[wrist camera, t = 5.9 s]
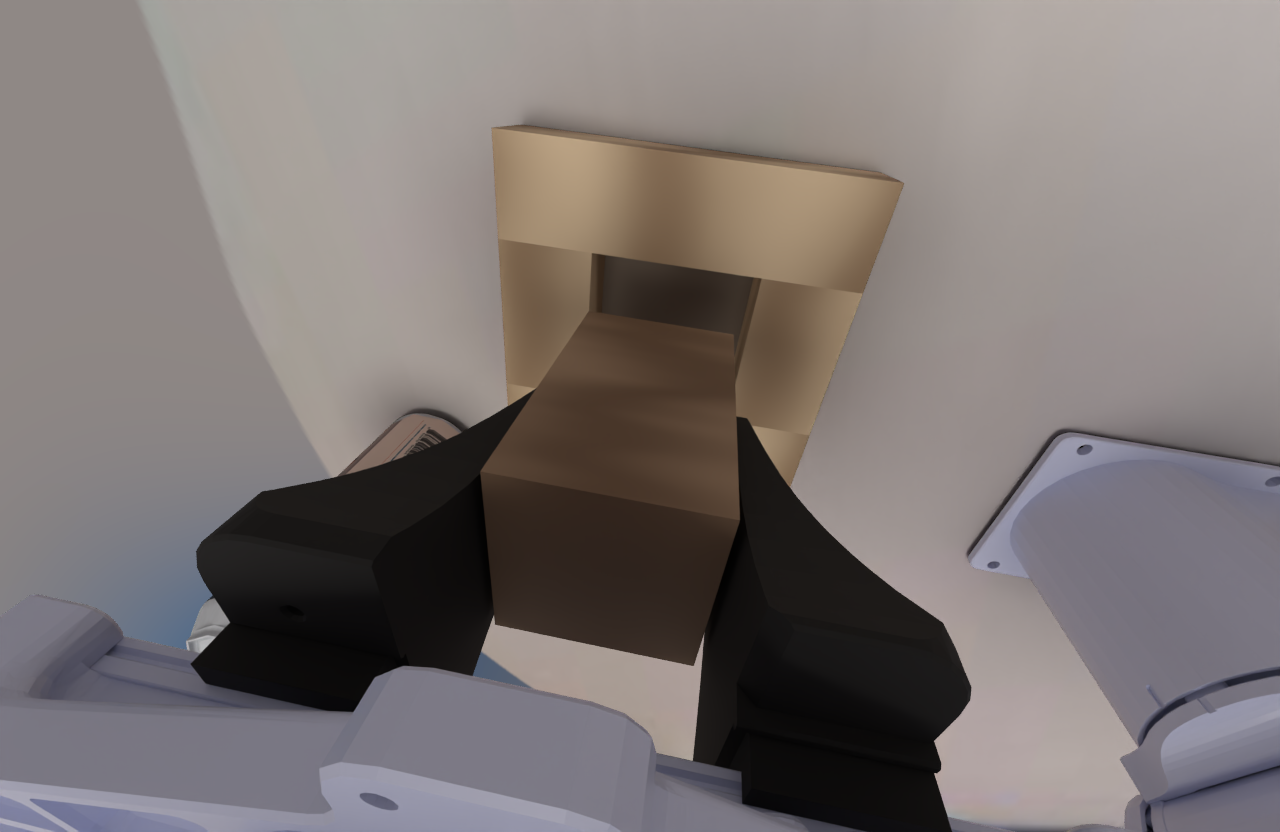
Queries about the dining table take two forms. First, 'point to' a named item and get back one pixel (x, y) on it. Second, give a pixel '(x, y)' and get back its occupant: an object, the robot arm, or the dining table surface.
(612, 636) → the walnut peg
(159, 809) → the robot arm
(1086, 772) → the dining table surface
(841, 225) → the oak socket block
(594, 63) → the dining table surface
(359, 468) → the beer can
